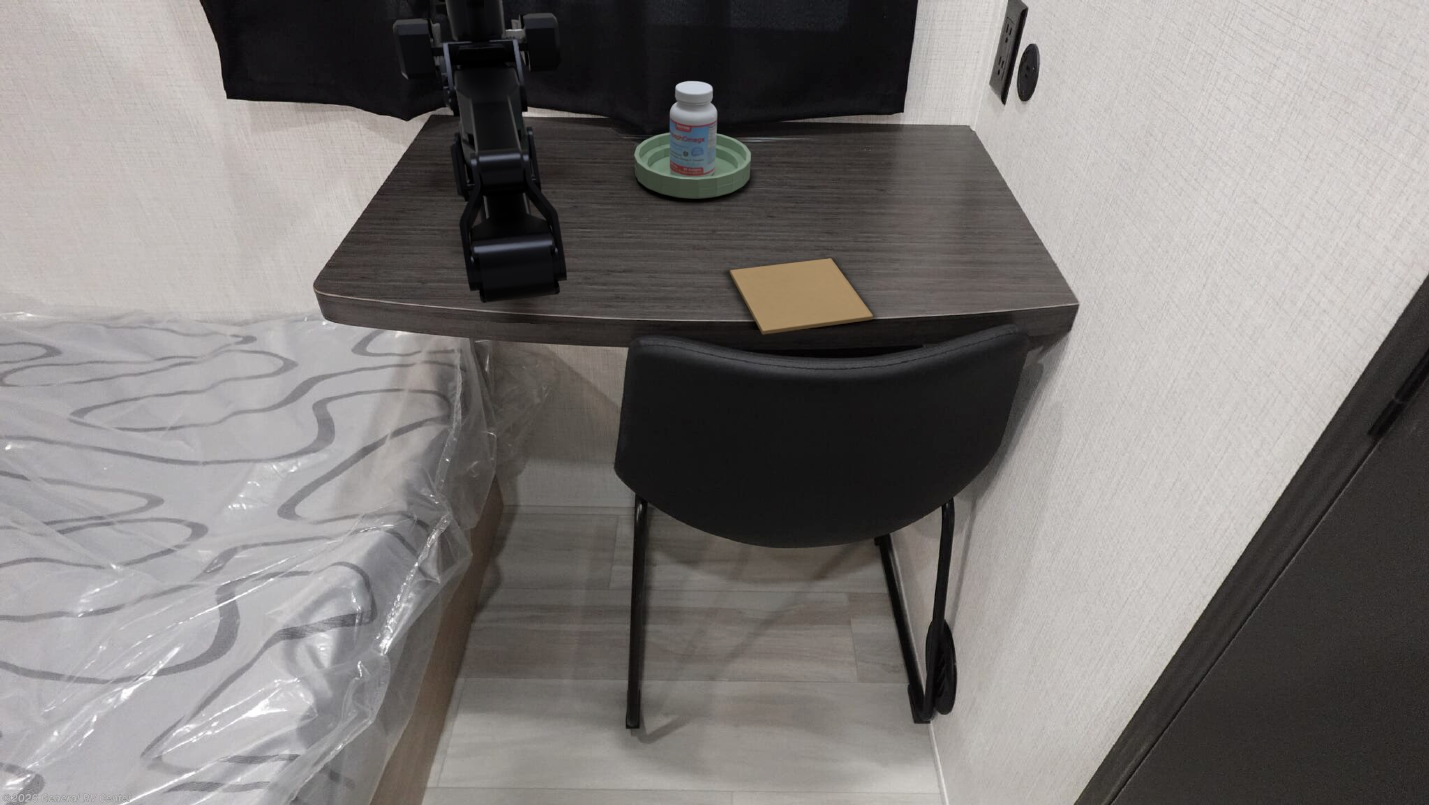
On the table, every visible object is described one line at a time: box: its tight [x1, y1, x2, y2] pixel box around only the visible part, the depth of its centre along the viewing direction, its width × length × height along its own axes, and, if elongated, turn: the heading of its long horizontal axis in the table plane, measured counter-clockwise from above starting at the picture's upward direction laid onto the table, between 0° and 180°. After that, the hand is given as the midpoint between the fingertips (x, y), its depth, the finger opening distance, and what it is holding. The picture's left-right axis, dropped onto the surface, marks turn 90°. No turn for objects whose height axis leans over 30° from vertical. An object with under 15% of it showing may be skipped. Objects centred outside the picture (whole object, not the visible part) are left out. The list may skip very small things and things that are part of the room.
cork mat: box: [729, 258, 874, 335], centre depth 90 cm, size 12×12×1 cm
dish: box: [633, 132, 752, 200], centre depth 111 cm, size 15×15×3 cm
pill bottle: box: [669, 80, 718, 177], centre depth 108 cm, size 6×6×11 cm
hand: (476, 25), depth 105 cm, fingers open, 9 cm apart
